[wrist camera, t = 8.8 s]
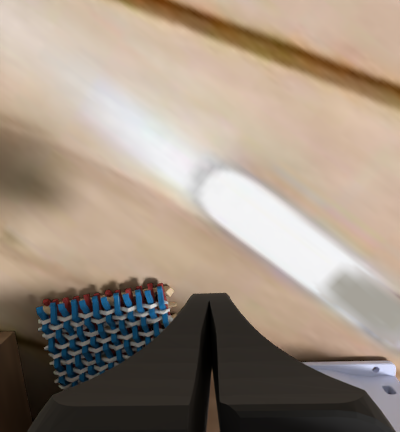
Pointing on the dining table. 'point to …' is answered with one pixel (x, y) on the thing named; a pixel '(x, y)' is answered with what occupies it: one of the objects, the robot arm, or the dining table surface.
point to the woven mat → (101, 330)
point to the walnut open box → (17, 396)
